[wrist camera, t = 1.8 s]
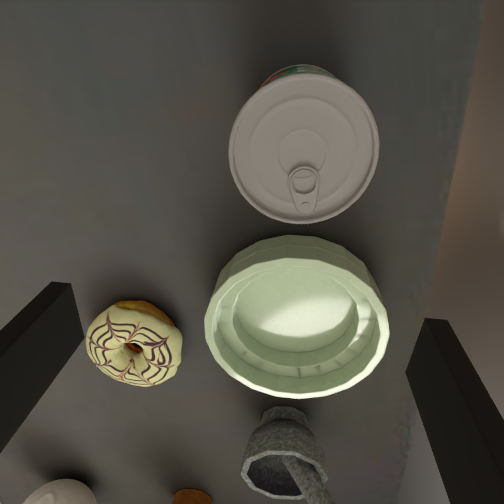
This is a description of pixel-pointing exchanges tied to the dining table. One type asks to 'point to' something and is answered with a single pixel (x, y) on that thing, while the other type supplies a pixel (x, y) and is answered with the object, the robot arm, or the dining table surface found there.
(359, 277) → the bowl
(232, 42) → the dining table surface
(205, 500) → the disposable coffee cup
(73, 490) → the decorative ball
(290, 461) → the mortar and pestle
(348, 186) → the canned tomato
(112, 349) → the decorated donut
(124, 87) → the dining table surface
